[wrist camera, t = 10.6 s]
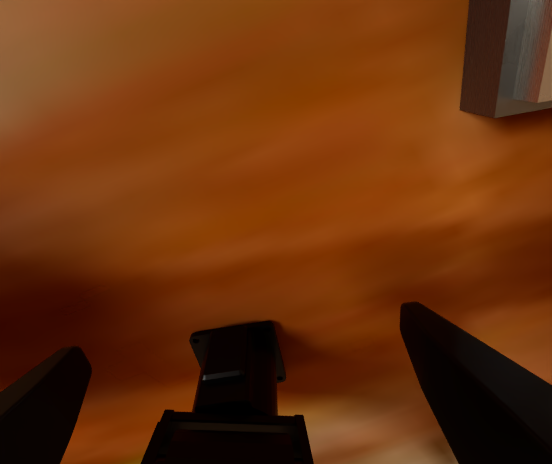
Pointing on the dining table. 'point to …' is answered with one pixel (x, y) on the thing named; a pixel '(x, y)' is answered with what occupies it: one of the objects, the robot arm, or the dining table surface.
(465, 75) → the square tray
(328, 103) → the dining table surface
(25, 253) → the dining table surface
